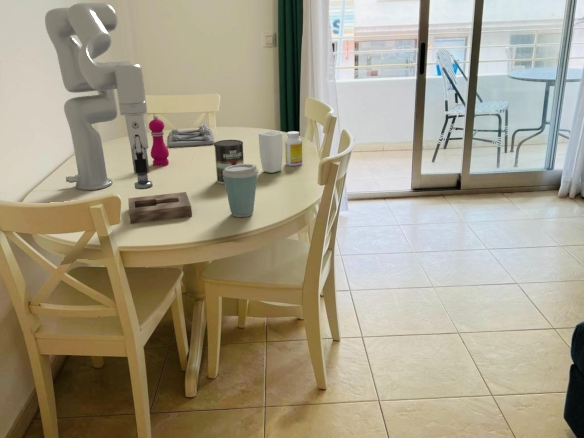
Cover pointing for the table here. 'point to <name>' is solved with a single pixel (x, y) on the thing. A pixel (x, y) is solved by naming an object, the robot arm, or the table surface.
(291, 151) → the supplement bottle
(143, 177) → the peg
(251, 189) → the disposable coffee cup
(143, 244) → the table surface
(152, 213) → the keyhole plate
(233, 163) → the coffee can
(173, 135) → the grey piece
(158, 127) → the pepper mill
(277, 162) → the cup
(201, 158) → the table surface
